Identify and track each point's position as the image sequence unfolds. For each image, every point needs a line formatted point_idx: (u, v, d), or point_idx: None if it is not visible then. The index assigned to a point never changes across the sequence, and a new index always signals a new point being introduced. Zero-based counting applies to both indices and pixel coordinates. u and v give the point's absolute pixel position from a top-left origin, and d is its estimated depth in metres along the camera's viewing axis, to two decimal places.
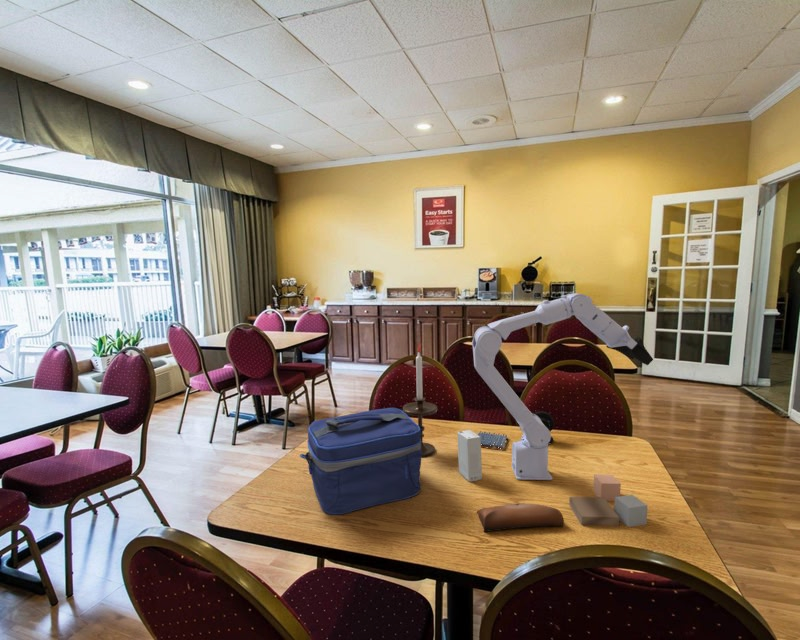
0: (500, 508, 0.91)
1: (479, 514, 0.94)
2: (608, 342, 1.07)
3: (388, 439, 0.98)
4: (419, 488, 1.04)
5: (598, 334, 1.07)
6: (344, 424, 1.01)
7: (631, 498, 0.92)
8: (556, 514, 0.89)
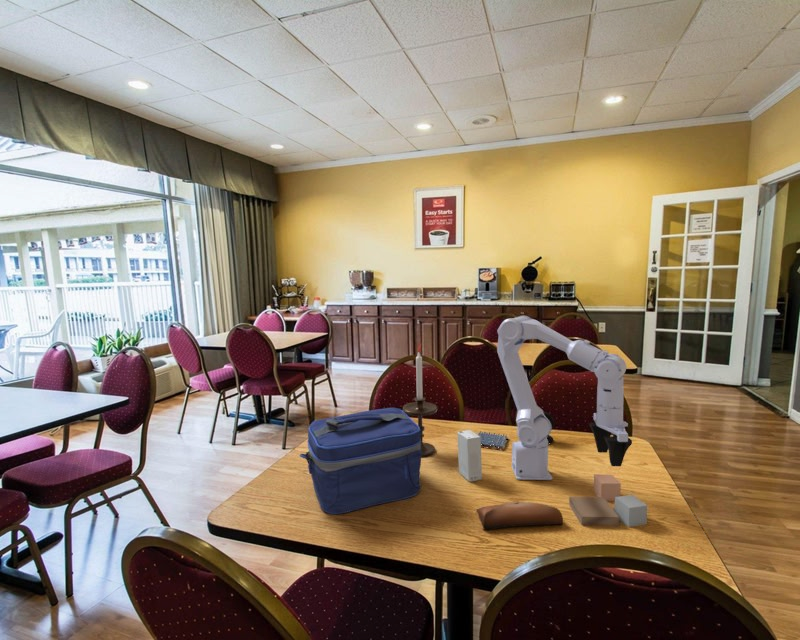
0: (499, 506, 0.91)
1: (479, 512, 0.95)
2: (601, 420, 0.98)
3: (387, 439, 0.99)
4: (419, 488, 1.04)
5: (601, 407, 0.98)
6: (344, 424, 1.02)
7: (631, 498, 0.92)
8: (556, 513, 0.90)
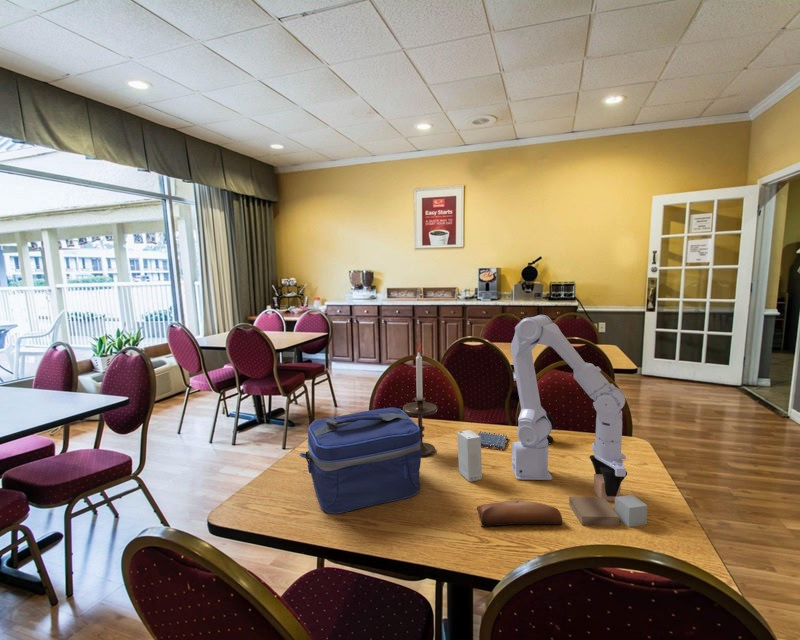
0: (498, 504, 0.92)
1: (479, 510, 0.96)
2: (599, 453, 0.99)
3: (387, 439, 0.99)
4: (418, 488, 1.04)
5: (599, 439, 0.99)
6: (343, 424, 1.02)
7: (631, 498, 0.92)
8: (555, 513, 0.90)
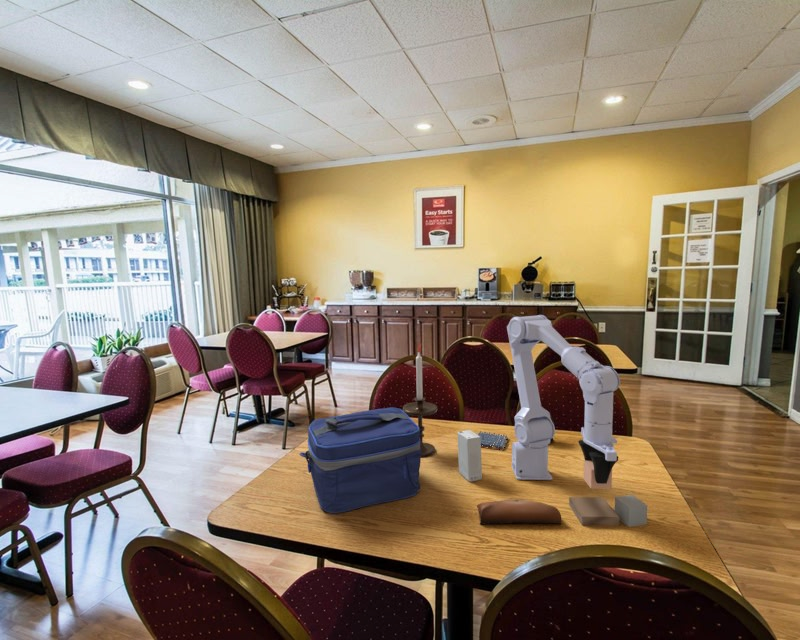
0: (498, 503, 0.93)
1: (479, 508, 0.97)
2: (589, 436, 0.92)
3: (386, 439, 0.99)
4: (418, 488, 1.04)
5: (588, 422, 0.91)
6: (343, 423, 1.02)
7: (631, 498, 0.92)
8: (554, 512, 0.90)
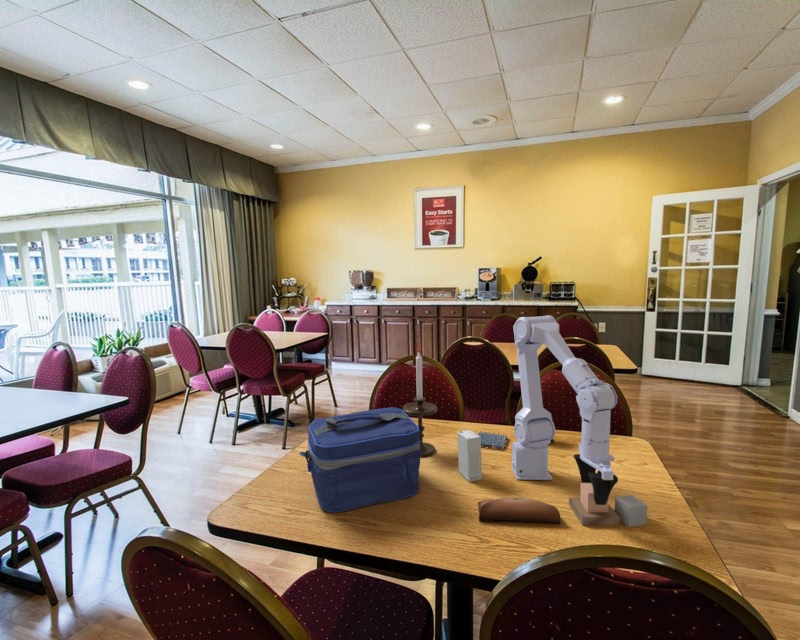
0: (497, 500, 0.94)
1: (479, 505, 0.98)
2: (585, 454, 0.91)
3: (386, 439, 0.99)
4: (418, 488, 1.04)
5: (585, 439, 0.91)
6: (343, 423, 1.02)
7: (631, 498, 0.92)
8: (553, 511, 0.90)
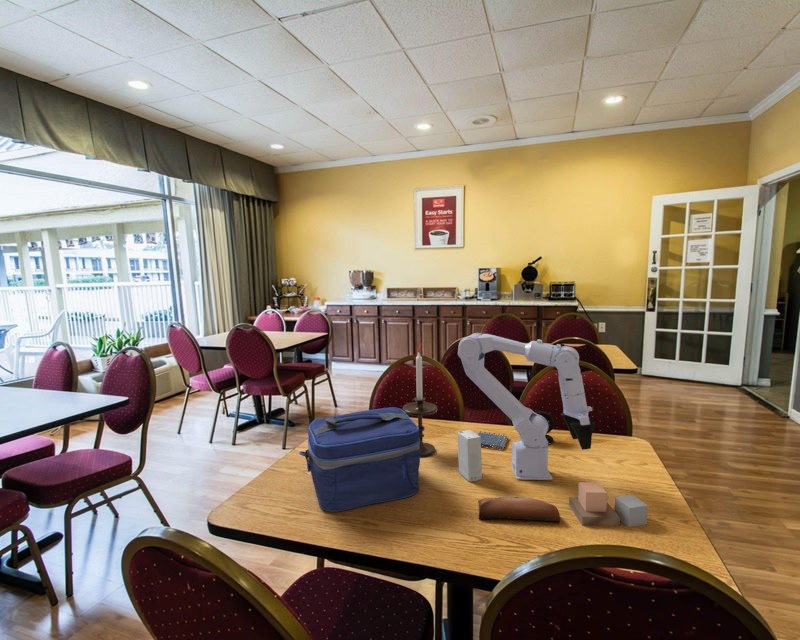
0: (497, 499, 0.94)
1: (479, 503, 0.98)
2: (566, 408, 1.06)
3: (385, 439, 0.99)
4: (417, 488, 1.04)
5: (564, 395, 1.06)
6: (343, 423, 1.02)
7: (631, 498, 0.92)
8: (553, 510, 0.91)
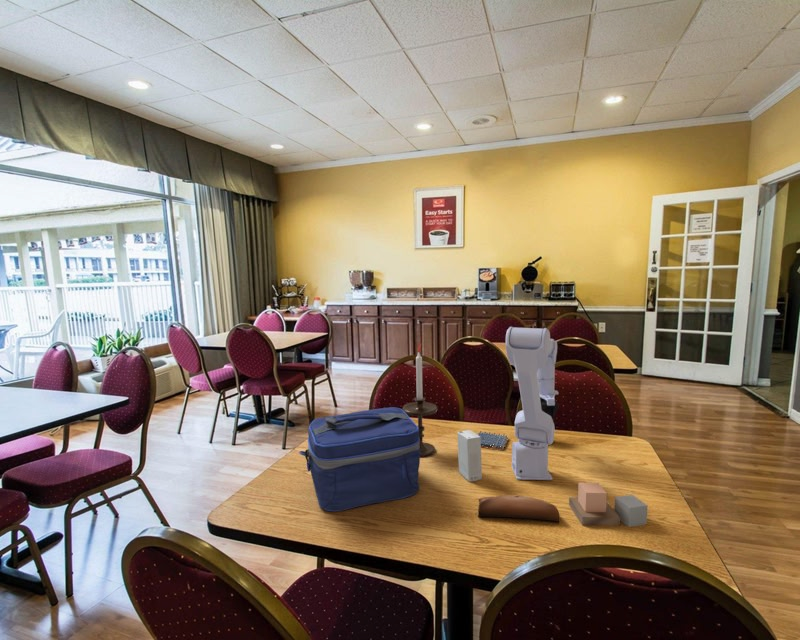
0: (497, 497, 0.95)
1: (479, 501, 0.99)
2: None
3: (385, 439, 0.99)
4: (417, 488, 1.04)
5: None
6: (342, 422, 1.03)
7: (631, 498, 0.92)
8: (552, 509, 0.91)
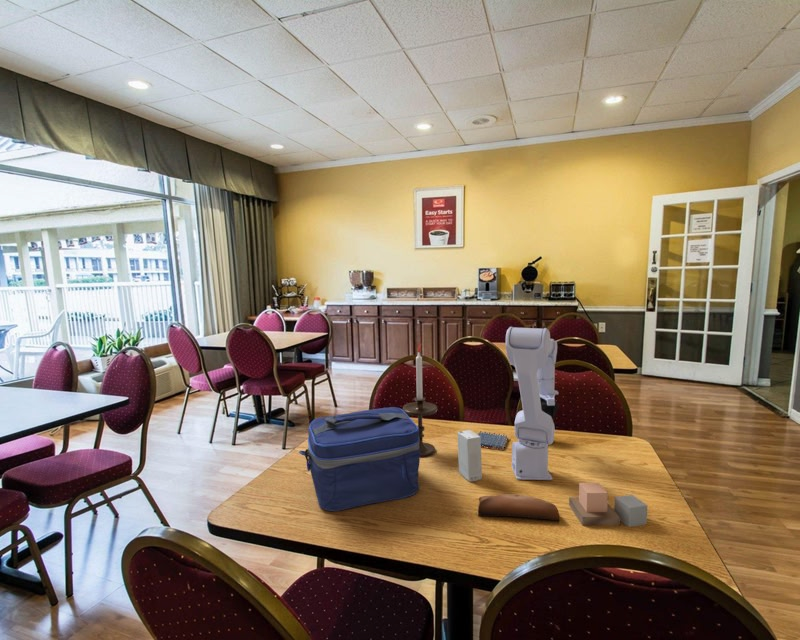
0: (497, 496, 0.96)
1: (480, 500, 1.00)
2: None
3: (384, 438, 0.99)
4: (417, 488, 1.04)
5: None
6: (342, 422, 1.03)
7: (631, 498, 0.92)
8: (552, 509, 0.91)
